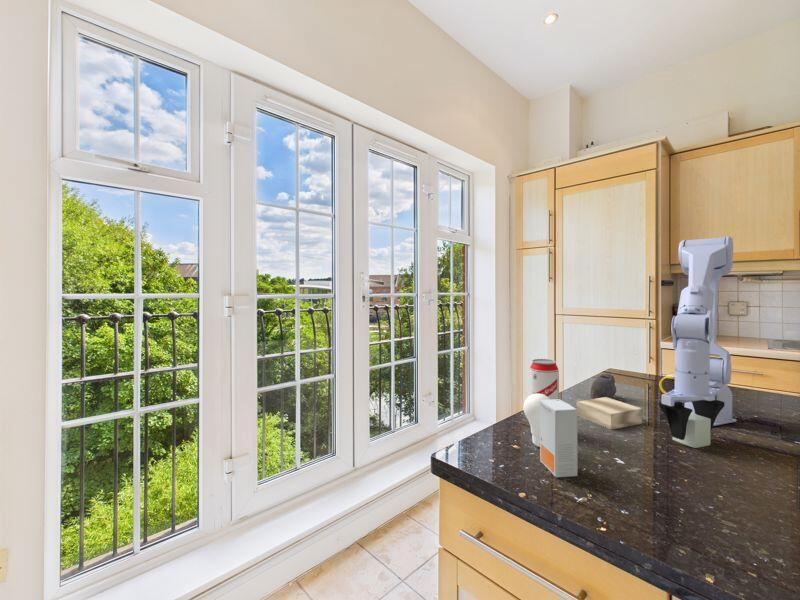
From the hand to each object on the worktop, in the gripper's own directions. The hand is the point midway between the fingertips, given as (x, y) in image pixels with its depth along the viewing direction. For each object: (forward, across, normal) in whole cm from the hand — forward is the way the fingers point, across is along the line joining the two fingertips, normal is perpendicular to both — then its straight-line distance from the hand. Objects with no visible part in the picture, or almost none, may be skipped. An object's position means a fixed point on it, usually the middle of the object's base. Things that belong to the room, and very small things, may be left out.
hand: (691, 435), depth 77 cm
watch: (+2, +29, +25) cm, 38 cm away
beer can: (+2, -24, +16) cm, 29 cm away
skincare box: (+2, -34, 0) cm, 34 cm away
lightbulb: (+2, -31, +9) cm, 32 cm away
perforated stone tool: (+2, +5, +27) cm, 28 cm away
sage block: (+2, 0, 0) cm, 2 cm away
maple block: (+2, -5, +16) cm, 17 cm away
